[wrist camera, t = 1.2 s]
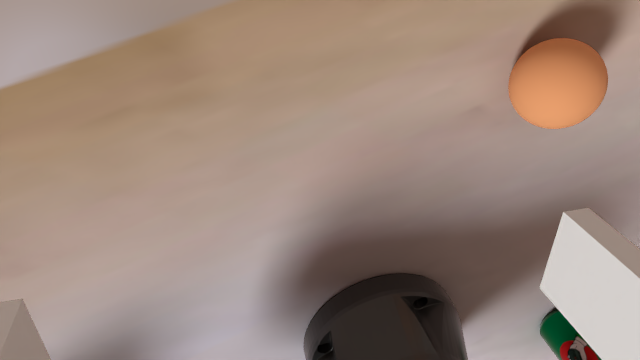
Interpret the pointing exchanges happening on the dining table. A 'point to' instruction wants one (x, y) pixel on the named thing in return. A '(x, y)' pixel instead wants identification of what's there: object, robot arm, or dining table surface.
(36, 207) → the dining table surface
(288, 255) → the dining table surface
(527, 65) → the ball
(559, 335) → the soda can
